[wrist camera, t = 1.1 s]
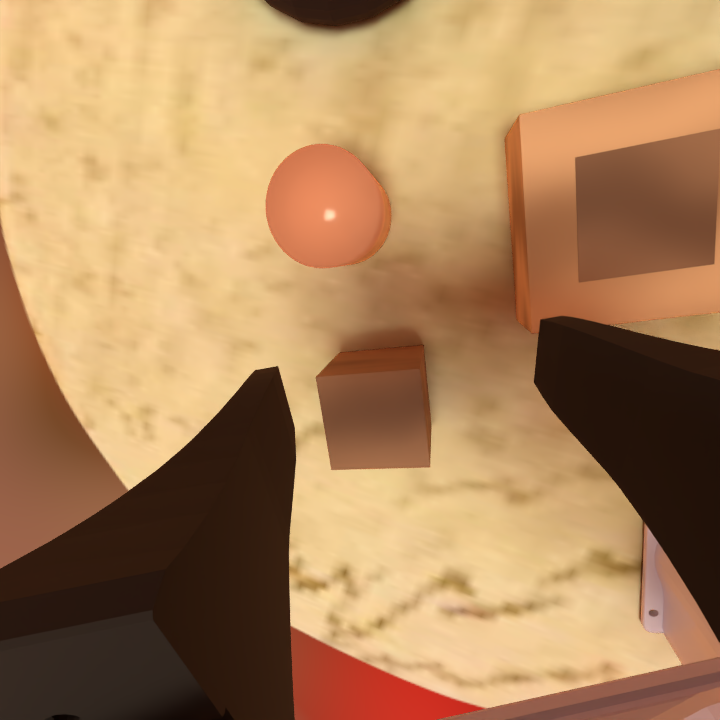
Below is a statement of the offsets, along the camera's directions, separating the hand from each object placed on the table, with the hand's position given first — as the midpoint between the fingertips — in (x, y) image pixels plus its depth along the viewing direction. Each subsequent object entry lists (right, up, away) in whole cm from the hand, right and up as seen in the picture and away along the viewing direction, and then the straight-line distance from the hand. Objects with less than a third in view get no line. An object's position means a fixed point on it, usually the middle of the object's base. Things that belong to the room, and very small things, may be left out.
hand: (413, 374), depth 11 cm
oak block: (+11, +7, +9) cm, 16 cm away
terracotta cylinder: (-2, +8, +11) cm, 14 cm away
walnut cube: (0, -1, +13) cm, 13 cm away
